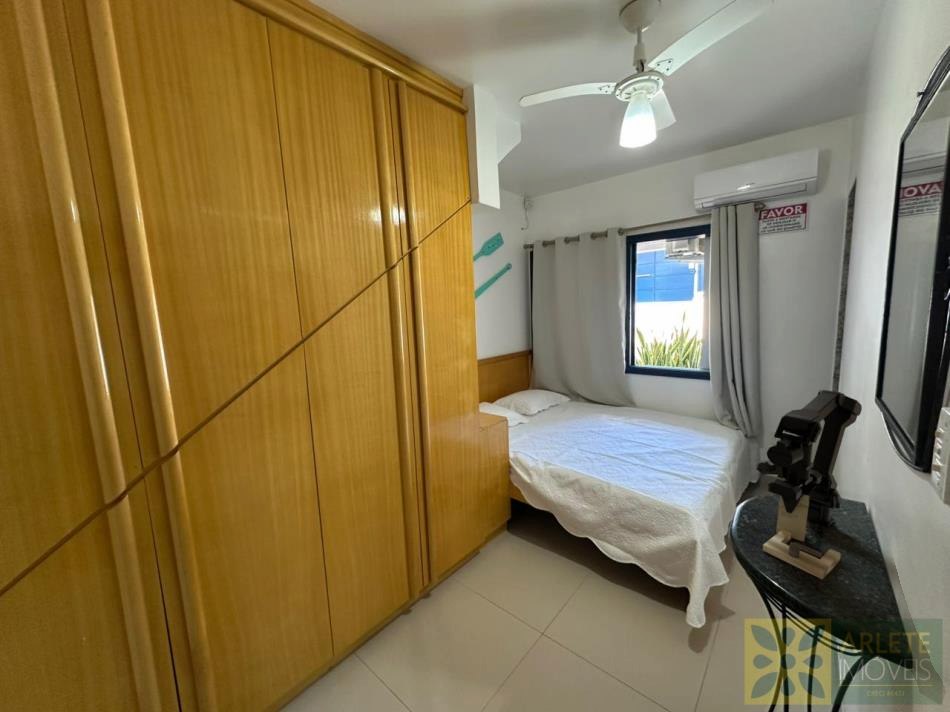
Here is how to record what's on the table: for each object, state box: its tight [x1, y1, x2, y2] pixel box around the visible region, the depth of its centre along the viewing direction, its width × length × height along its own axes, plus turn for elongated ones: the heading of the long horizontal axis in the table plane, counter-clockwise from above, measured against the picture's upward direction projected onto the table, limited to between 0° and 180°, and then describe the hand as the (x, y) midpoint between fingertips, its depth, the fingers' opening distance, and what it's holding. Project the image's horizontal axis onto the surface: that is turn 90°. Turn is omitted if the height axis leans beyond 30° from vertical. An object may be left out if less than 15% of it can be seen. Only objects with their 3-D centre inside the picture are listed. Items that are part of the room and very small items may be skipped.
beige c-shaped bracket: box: [762, 529, 841, 580], centre depth 93 cm, size 12×12×6 cm
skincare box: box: [775, 494, 809, 542], centre depth 101 cm, size 6×4×12 cm
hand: (792, 509), depth 101 cm, fingers closed on skincare box, 5 cm apart
